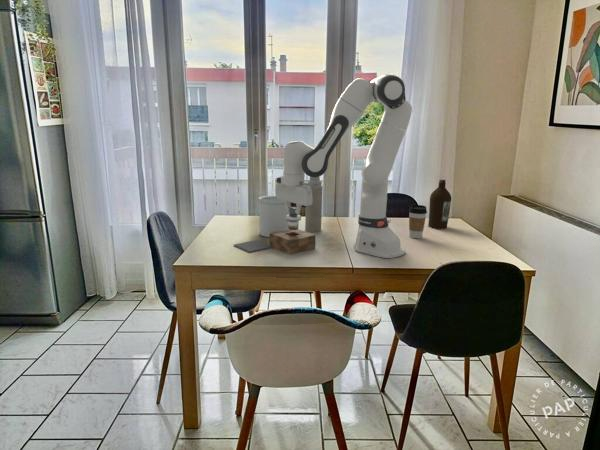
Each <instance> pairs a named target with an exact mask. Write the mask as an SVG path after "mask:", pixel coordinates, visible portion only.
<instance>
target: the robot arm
mask: <svg viewBox="0 0 600 450" xmlns="http://www.w3.org/2000/svg"><path fill="white" fill-rule="evenodd" d="M405 86H406V85H405V83H404V81H403V79H401V78H400V77H399V76H397V75H394V74H393V75H392V74H383V75H378V76H376V77H373V78H371V79H370V80H367V79H365V78H361V77H359V78H358V77H357V78H355V79H354V80H353V81H352V82H351V83H349V84H348V86H347V87H346V88H345V90H344V91H343V92H342V93H341V95H340V97H339V98H338V99H337V102H336V104H335V105H334V108H333V110H332V113H331V115H330V120H329V121H330V122H329V124H328V126H327V129H326V131H325V133H324V134H323V135H322V137H321V139H320V140H319V141H318V143H317V145H316V146H315V147H313V146H310V145H309V144H307V143H305V142H304V141H303V140H294V141H290V142H289V141H288V142H287V143H286V144H285V146H284V148H283V161H282V162H283V167H284V168H283V175H281V176H278V177H276V178H275V183H276V184H275V196H276V197H277V199H279V200H283V201H285V204H286V206H287V211H288V212H289V208H290V207H292V205H291V204H295V207H297V208H296V210H295V214H298V215H300V213H301V209H302V207H303V206H304V207H306V206H309V205H311V204H312V202H313V200H312V190H311V186H310V185H309V183H308V182H305V175H306V176H308V177H309V178H310V177H321V176H323V175H324V174H325V173H326V171H327V169H328V165H329V161H330V160H329V159H330V157H331V154H332V153H333V151H334V150H335V149H336V147H337V145H338V143H339V142H340V140H341V138H343V136H344V135H345V134H346V133H347V132H348V131H349V130H351V129H352V127H354V125H355V124H356V123H357V122H358V121H359V119H360V118H361V117H362V116H363V114H364V112H365V111H366V109H367V107H368V106H369V105H370V104H372V103H373V102H374V103H377V104H378V103H379V104H381V105H383V115H382V117H381V118H380V119H381V120H380V122H379V125H378V127H377V130H376V132H375V135H374V137H373V140H372V143H371V145H370V147H369V150H368V154H367V156H366V159H365V161H364V164H363V166H362V168H361V177H362V178H361V191H360V201H359V202H360V205H359V215H358V221H357V222H358V231H357V236H356V239H355V242H354V245H353V247H354V251H355V252H358V253H361V254H366V255H370V256H373V257H374V256H375V257H378V258H382V259H395V258H398V257H402V256H403V255H406V249H403V248H401V240H400V238H399V237H398V235H397V234H396V232H394V231H393V230H392V228H391V227H389V224H391V219H389V220H388V219H387V214H386V213H387V205H388V204H387V201H388V189H389V188H388V185H389V177H390V174H391V171H392V169H393V165H394V164H395V161H396V157H397V156H398V152H399V149H400V148H401V144H402V143H403V141H404V137H405V134H406V132H407V129H408V127H409V124H410V120H411V117H412V112H413V107H412V105H411V104H412V103H410V102H409V101H408V100H406V97H407V96H406V87H405ZM308 185H309V186H308Z"/></svg>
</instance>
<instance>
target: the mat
mask: <svg viewBox="0 0 600 450" xmlns="http://www.w3.org/2000/svg"><path fill="white" fill-rule="evenodd" d="M233 247H235V248H238V249H240V250H242V251H244V252H247V253H250V254H251V253H255V252H259V251H263V250H264V251H265V250H268V249H272V248H273V246H271V245H270V244H268V243H265V242H263V241H260V240H258V239H253V240H250V241H245V242H240V243H239V242H238V243H236V244H233ZM273 249H274V248H273Z"/></svg>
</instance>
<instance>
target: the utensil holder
mask: <svg viewBox="0 0 600 450" xmlns="http://www.w3.org/2000/svg"><path fill="white" fill-rule="evenodd" d="M258 203H259V204H258V206H259V208H258V210H259V219H258V221H259V222H258V223H259V227H258V228H259V235H260V236H261V237H264V238H270V233H273V232H278V231H283V230H288V221H287V220H286V215H289V212H288V211H287V206H286V204H285V201H283V200H279V199H277V197H276V195H262V196H260V197H258Z"/></svg>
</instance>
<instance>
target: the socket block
mask: <svg viewBox="0 0 600 450" xmlns="http://www.w3.org/2000/svg"><path fill="white" fill-rule="evenodd" d="M316 237H317V236H316V234H314V233H312V232H309V231H306V230H302V229H299V228H298V229H297V230H290V229H288V230H283V231H278V232H273V233H270V237H269V245H271V246H273V249H276V250H278V251H281V252H283V253H286V254H288V255H295V254H298V253H303V252H306V251H310V250H314V249H316V242H317V241H316V239H317V238H316Z"/></svg>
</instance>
